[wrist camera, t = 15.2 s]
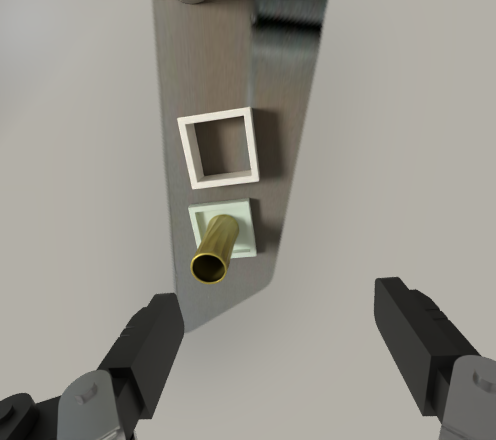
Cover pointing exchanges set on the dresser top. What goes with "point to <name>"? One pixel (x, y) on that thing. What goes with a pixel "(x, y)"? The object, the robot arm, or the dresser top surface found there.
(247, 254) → the tray
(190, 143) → the sleeve
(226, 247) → the vase
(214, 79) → the dresser top surface
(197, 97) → the dresser top surface
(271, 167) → the dresser top surface
